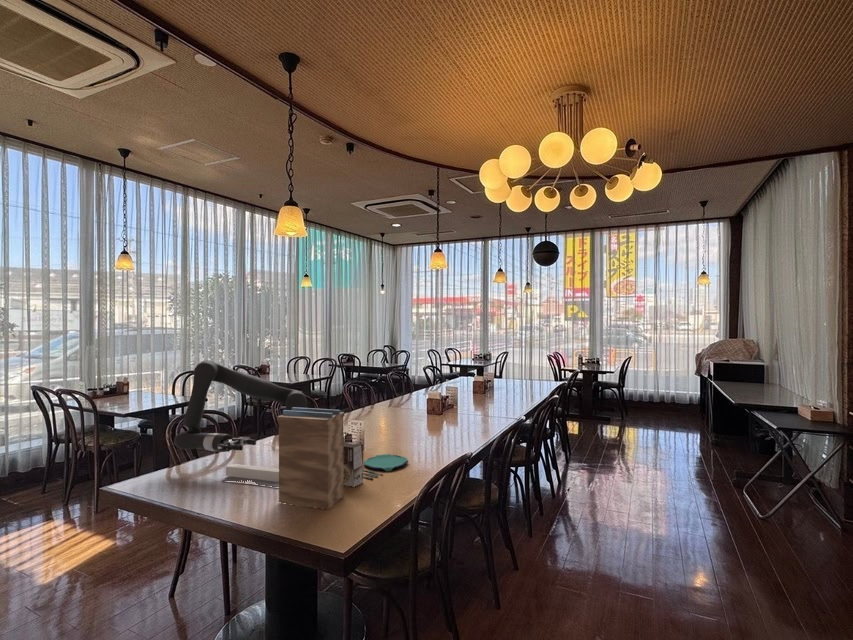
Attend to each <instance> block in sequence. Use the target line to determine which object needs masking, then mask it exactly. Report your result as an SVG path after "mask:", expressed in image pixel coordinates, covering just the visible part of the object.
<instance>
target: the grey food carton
mask: <svg viewBox="0 0 853 640" xmlns="http://www.w3.org/2000/svg"><path fill="white" fill-rule="evenodd" d="M363 469H364V444H363V443H359V442H353V441H343V486H346V487H350V486H352V487H351V488H355V486H356V487H357V485H358V486H359V484H360V485H362V484H364V478H363V476H364V474H363V473H364V471H363ZM361 483H362V484H361Z"/></svg>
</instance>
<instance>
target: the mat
mask: <svg viewBox="0 0 853 640" xmlns="http://www.w3.org/2000/svg"><path fill="white" fill-rule="evenodd" d="M222 480H223V481H236V482H237V481H238V482H239V481H240V482H241V480H242V482H243V481H244V483H245V481H246V482H247V480H248V481H249V480H250V481H251V480H252V482H255V483H256V484H258V485H265V486H272V487H279V482H276V481H267V480H258V479H249V478H240V477H231V476H227V477H226V478H225V479H222Z"/></svg>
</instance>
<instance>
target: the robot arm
mask: <svg viewBox="0 0 853 640" xmlns="http://www.w3.org/2000/svg"><path fill="white" fill-rule="evenodd" d="M212 382H215V383H220V384H223V385H225V386H228V387H230V388H231V389H233V390H234V391H237V392H239V393H240V394H243V395H246V396H248V397H252V398H256V399H260V400H268V401H274V402H277V403H280V404H282V405H284V406H286V408H285V410H292V408H293V407H298V408H308V402H307V401H308V400H307V397H306V395H305V393H304V392H302V391H300V390H297V389H291V388H288V387H283V386H280V385H278V384H276V383H273V382H271V381H269V380H267V379H264V378H261V377H259V376H255V375H253V374H249V373H246V372H242V371H240V370H239V371H238V370H234V369H231V368H228V367H226V366H224V365H221V364H220V363H217V362H215V361H213V360H210V359H207V360H206V359H205V360H203V361H200V362H199V363H198V364H197V365H196V366H195V367H194V369H193V381H192V383H193V384H192V389H191V395H190V396H189V397H190V398H189V401H188V404H187V408H186V410H185V414H184V418H183V422H182V425H183V426H184V427H187V429H188V430H187V431H182V432H180V433H178V434H176V435H175V436H174V438H173V444H174V446H175V447H176V448H177V449H180V450H188V449H189V450H195V449H197V450H198V449H199V450H206V451H211V452H219V453H226V452H228V453H229V452H230V451H243V449H244V446H246V445H249V446H256V445H257V440H256V439H251V437H250V436H238V437H232V436H231V435H230V434H229V433H228V434H227V433H219V432H218V433H217V432H213V433H212V432H210V433H209V432H202V431H201V428H202V427H201V423H202V419H203V415H204V413H205V412H204V411H205V406H206V401H207V396H208V391H209V389H210V387H211V384H212Z"/></svg>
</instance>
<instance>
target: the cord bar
mask: <svg viewBox="0 0 853 640" xmlns="http://www.w3.org/2000/svg"><path fill="white" fill-rule="evenodd" d="M225 474H226V475H225V476H226V477H240V478H249V479H258V480H267V481H276V482H279V467H269V466H267V467H266V466H259V465H248V464H239V463H231V464H229V465H227V466H225Z"/></svg>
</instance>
